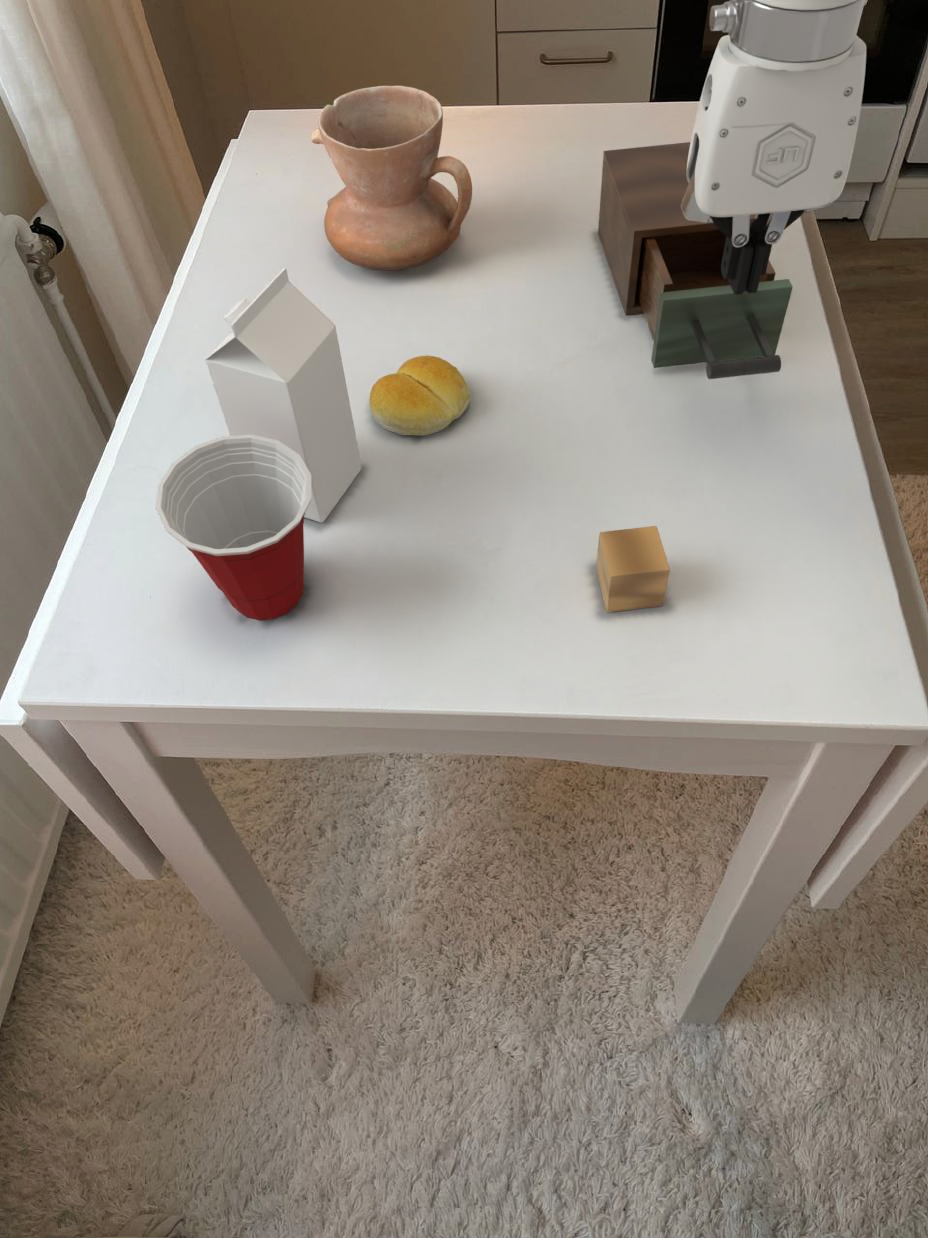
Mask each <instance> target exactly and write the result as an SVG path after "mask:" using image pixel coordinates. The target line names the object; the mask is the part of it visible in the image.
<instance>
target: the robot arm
mask: <svg viewBox="0 0 928 1238" xmlns="http://www.w3.org/2000/svg"><path fill="white" fill-rule="evenodd" d="M865 3H866V0H729V1H725V2H723V4H717V5H712V6H711V7H710V10H709V18H708V22H709V23H708V25H709V29H710V32H719V31H721V32H722V33H724V34H725V33H727V35H723V36H722V37H720V39H719V40H718V43H717V46H716V48H715V51H714V54H713V56H712V59H711V62H710V65H709V68H708V71H707V74H706V77H705V81H704V84H703V87H702V91H701V95H700V98H699V102H698V106H697V110H696V115H695V119H694V123H693V128H692V133H691V138H690V141H689V142H690V148H689V154H688V161H687V181H688V183H689V185H688V187H687V190H686V192H685V195H684V197H683V200H682V202H681V206H680V207H681V210H682V213H683V215H684V217H685V219H686V220H689V221H695V222H703V223H708V222H710V223H714V224H715V225H716V226H717V227H718V228H719V229H720V230H721V231H722V232H723V233H724V234H725V235H726V241H725V247H724V252H723V257H722V263H721V273H722V276H723V278H724V279H728V281H729V283H730V286H731V288H732V290H733V292H734V294H735V295H740V294H743V292H745V291H746V292H748V293H749V294H750V293H756V292H757V289H758V285H759V280H760V276H763V275H765V273H766V270H767V265H768V261H770V256H771V252H772V247H773V245H774V244H776V243H778V242H779V241H780V240H781V238H782V236H783V234H784V231H785V230H786V229H788V228H789V227H790V226H791V225H792V224H793V223H794V222H796V221H797V220H798V219H799V218H800V217H801V216H802V215H804V214H809V213H812V212H815V211H818V210H821V209H825V208H828V207H830V206H831V205H833V203H834V202H835V201H836V200H837V199H838V198H839V197H840V196H842V193H843V192H844V191H843V190H844V188H845V186H846V182H847V179H848V175H849V171H850V168H851V163H852V159H853V154H854V149H855V145H856V139H857V133H858V129H859V122H860V116H861V109H862V104H863V103H862V102H863V96H864V95H863V94H864V87H865V77H866V68H867V67H866V66H867V65H866V64H867V44H866V43H865V41H864V40H863V39H861V38H860V37H859V36H858V35H857V33H858V29H859V27H860V22H861V18H862V14H863V10H864V6H865ZM750 215H755V218H754V219H755V221H753V222H752V223H750Z"/></svg>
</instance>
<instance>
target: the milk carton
mask: <svg viewBox="0 0 928 1238" xmlns="http://www.w3.org/2000/svg"><path fill="white" fill-rule="evenodd" d="M223 319H224V321H225V322H226V323H227V324H229V326H230V327H231V331H230V333H229V334H228V335H227V336H226V337H225V338H224V339H223V340H222V341H221V342H220V344H218V345H217V346H216V348H215V349H214V350H213V351H212V352H211V353H210V354H209V355H208V356H207V357H206V359H205V362H206V366H207V369H208V372H209V375H210V379H211V381H212V384H213V387H214V389H215V390H214V391H215V394H216V396H217V400H218V403H219V405H220V409H221V412H222V415H223V418H224V421H225V424H226V428H227V430H228V434H229V436H236V435H256V436H260V437H265V438H269V439H273V440H277V441H280V442H281V443H283V444H284V445H286V446H287V447H289V448H290V449H292V450H293V451H295V452H296V453H298V454H299V455H300V456H301V458H302V460H303V461H304V463H305V465H306V467H307V468H308V470H309V472H310V473H311V502H310V504H309V505H308V507H307V509H306V511H305V515H304V519H305V518H306V519H309V520H312V521H315V522H318V523H324V522H325V521H326V520H327V518H328V517H329V515H330V514H331V512H332V511H333V510H334V508H335V507H336V506H337V504H338V503H339V501H340V500H341V499H342V497H343V495H344V494H345V493H346V492H347V490H348V489H349V488H350V486H351V484H352V483H354V480H355V479H356V478H357V476H358V475H359V474H360V472H361V471H362V461H361V456H360V449H359V446H358V445H359V444H358V439H357V434H356V429H355V423H354V419H353V413H352V407H351V402H350V398H349V397H350V396H349V392H348V386H347V381H346V375H345V370H344V365H343V359H342V354H341V349H340V344H339V343H340V342H339V337H338V332H337V327H336V324H335V323H334V321H332V320H331V319H330V318H329V317H328V316H327V315H326V314H325V313H323V311H321V309H320V308H318V307H317V305H315V304H314V303H313V302H312V301H311V300H310V299H309V298H308V297H307V296H306V295H304V294H303V292H302V291H300V289H299V288H297V286H295V285H294V284H293V283H292V282H291V281H290V279H289V276H288V269H287V268H286V267H282V268H281V269H280V270H279V272H277V274H276V275H275V276H274V277H273V278H272V279H271V280H270V281H269V282H268V283H267V284H266V285H265V286H264V288H263V289H262V290H261V291H259V292H258V294H257V295H256V296H255V297H254V298H253V299H252V300H251V301H249V299H247V297H244V298H242V299H240V300H239V301H238V302H237V303H236V304H235V305H234V306H232V308H231V309H229V311H228V312H226V314H225V315H224V317H223Z"/></svg>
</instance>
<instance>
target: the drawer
mask: <svg viewBox="0 0 928 1238" xmlns="http://www.w3.org/2000/svg"><path fill="white" fill-rule="evenodd" d="M725 241H726V235H725V234H724V233H723V232H722V231H721V230H712V231H703V232H693V233H683V234H674V235H664V236H655V237H645V238H642V241H641V250H640V259H639V268H638V277H637V286H636V294H637V297H638V300H639V302H640V305H641V308H642V311H643V313H642V314H643V317H644V319H645V322H646V325H647V327H648V330H649V333H650V335H651V338H652V342H653V344H652V345H653V346H652V350H651V351H652V353H651V358H650V361H651V364H652V367H653V368H654V369H660V368H667V367H669V368H670V367H677V366H687V365H697V364H704V363H706V368H705V372H706V377H707V379H708V380H716V379H724V378H726V379H727V378H734V377H745V376H754V375H762V374H763V375H764V374H771V373H772V374H773V373H779V372H780V371H781V368H782V357H781V355H779V354H776V353H777V349H778V345H779V341H780V338H781V334H782V331H783V327H784V323H785V319H786V315H787V310H788V307H789V303H790V299H791V295H792V292H793V288H794V286H793V284H792V282H791V281H790V279H789V278H785V279H777V280H776V279H775V278H776V271H775V269H774V267H773V265H772V262H771V261H770V260H769V261H768V265H767V270H766V273H765V275H763V276H760V280H759V285H758V289H757V292H756V293H750V294H749V293H748V292H746V291H745V292H743V294H740V295H735V294H734V292H733V290H732V288H731V286H730V283H729V281H728V279H724V278H723V276H722V273H721V263H722V257H723V252H724V247H725Z"/></svg>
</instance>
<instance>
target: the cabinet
mask: <svg viewBox="0 0 928 1238" xmlns="http://www.w3.org/2000/svg"><path fill="white" fill-rule="evenodd" d="M690 142H691V141H687V142H686V141H685V142H678V143H668V144H658V145H647V146H637V147H629V148H619V149H617V148H616V149H609V150H603V153H602V154H603V156H602V168H601V182H600V183H601V184H600V198H599V213H598V225H597V226H598V228H597V235H598V238H599V241H600V244H601V247H602V250H603V252H604V256H605V258H606V262H607V265H608V268H609V271H610V274H611V276H612V279H613V282H614V285H615V288H616V291H617V295H618V297H619V300H620V304H621V306H622V308H623V311H624V314H625V316H630V315H639V314H640V315H641V314H643V311H642V308H641V305H640V302H639V300H638V297H637V294H636V286H637V277H638V268H639V259H640V250H641V241H642V238H645V237H655V236H664V235H674V234H683V233H693V232H703V231H712V230H720V229H719V228H718V227H717V226H716V225H715V224H714V223H710V222H708V223H703V222H695V221H689V220H686V219H685V217H684V215H683V213H682V210H681V207H680V206H681V202H682V200H683V197H684V195H685V192H686V190H687V187H688V185H689V183H688V181H687V161H688V154H689V148H690ZM754 218H755V215H750V223H752V222H753V221H755V219H754Z"/></svg>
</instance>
